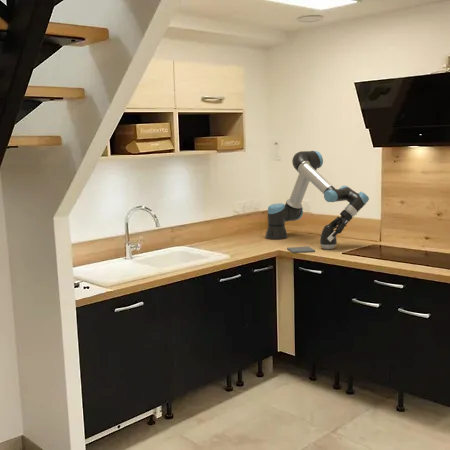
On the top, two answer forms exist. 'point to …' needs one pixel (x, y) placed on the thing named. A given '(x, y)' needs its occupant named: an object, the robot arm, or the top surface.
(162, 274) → the top surface
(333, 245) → the pump dispenser
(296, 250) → the charcoal mat
